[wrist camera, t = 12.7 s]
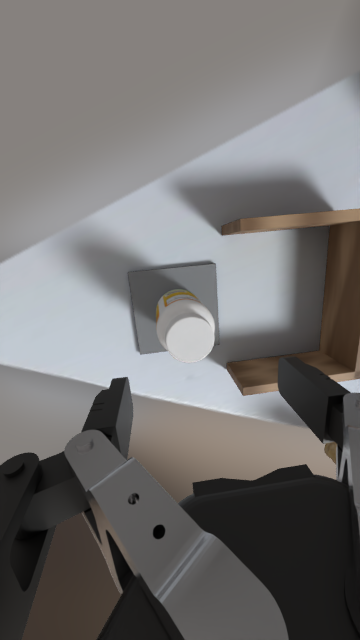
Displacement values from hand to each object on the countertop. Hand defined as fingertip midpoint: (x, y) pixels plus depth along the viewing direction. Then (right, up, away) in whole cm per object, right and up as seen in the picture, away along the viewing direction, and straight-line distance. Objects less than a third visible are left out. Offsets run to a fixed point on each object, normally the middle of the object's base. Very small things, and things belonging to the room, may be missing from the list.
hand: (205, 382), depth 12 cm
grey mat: (-2, +4, +16) cm, 17 cm away
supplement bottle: (-2, +4, +16) cm, 17 cm away
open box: (+11, +6, +17) cm, 21 cm away
